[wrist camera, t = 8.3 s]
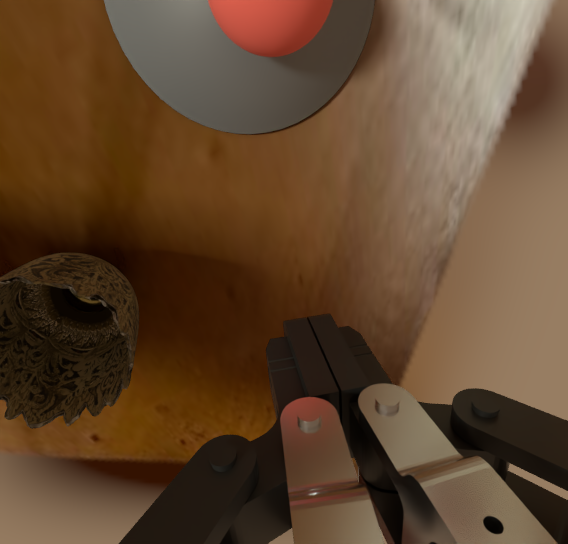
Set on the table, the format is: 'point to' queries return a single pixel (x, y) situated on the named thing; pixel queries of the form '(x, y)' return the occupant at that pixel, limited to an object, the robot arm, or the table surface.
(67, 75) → the table surface
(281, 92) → the gray disc
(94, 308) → the cup
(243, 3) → the ball
